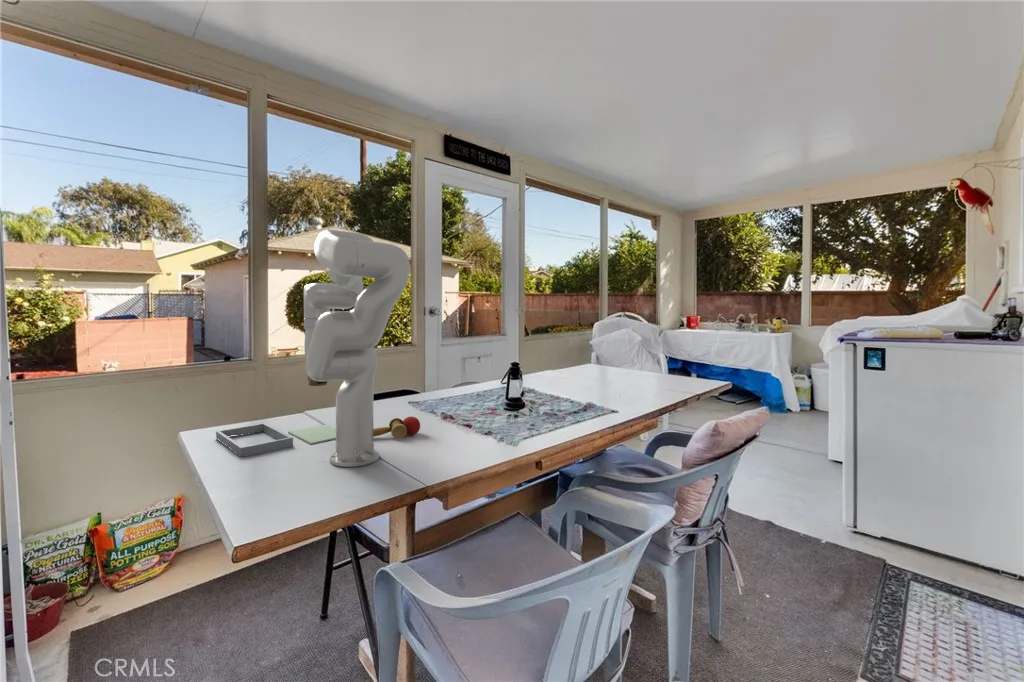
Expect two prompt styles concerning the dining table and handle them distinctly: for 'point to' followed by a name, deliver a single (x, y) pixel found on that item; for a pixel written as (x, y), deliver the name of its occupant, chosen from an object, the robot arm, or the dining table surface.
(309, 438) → the pad
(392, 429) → the kendama
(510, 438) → the dining table surface
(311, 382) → the brown wooden cylinder
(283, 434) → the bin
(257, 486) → the dining table surface
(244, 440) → the dining table surface
